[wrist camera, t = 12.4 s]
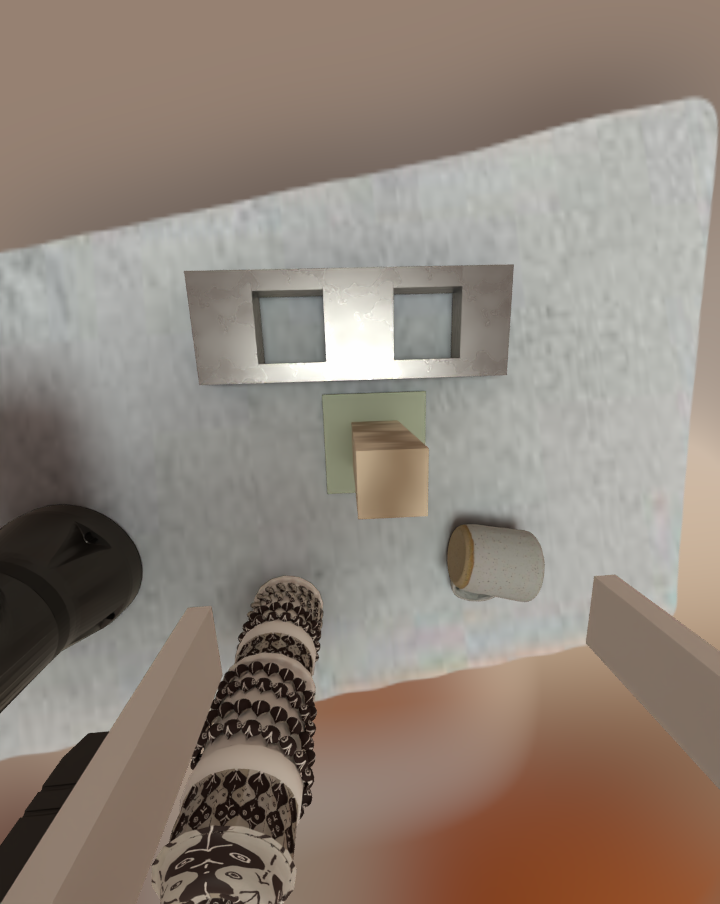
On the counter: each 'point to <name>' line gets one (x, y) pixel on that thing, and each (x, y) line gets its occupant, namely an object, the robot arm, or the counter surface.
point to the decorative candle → (251, 762)
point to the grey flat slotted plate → (348, 321)
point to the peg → (389, 470)
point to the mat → (361, 409)
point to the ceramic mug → (494, 563)
